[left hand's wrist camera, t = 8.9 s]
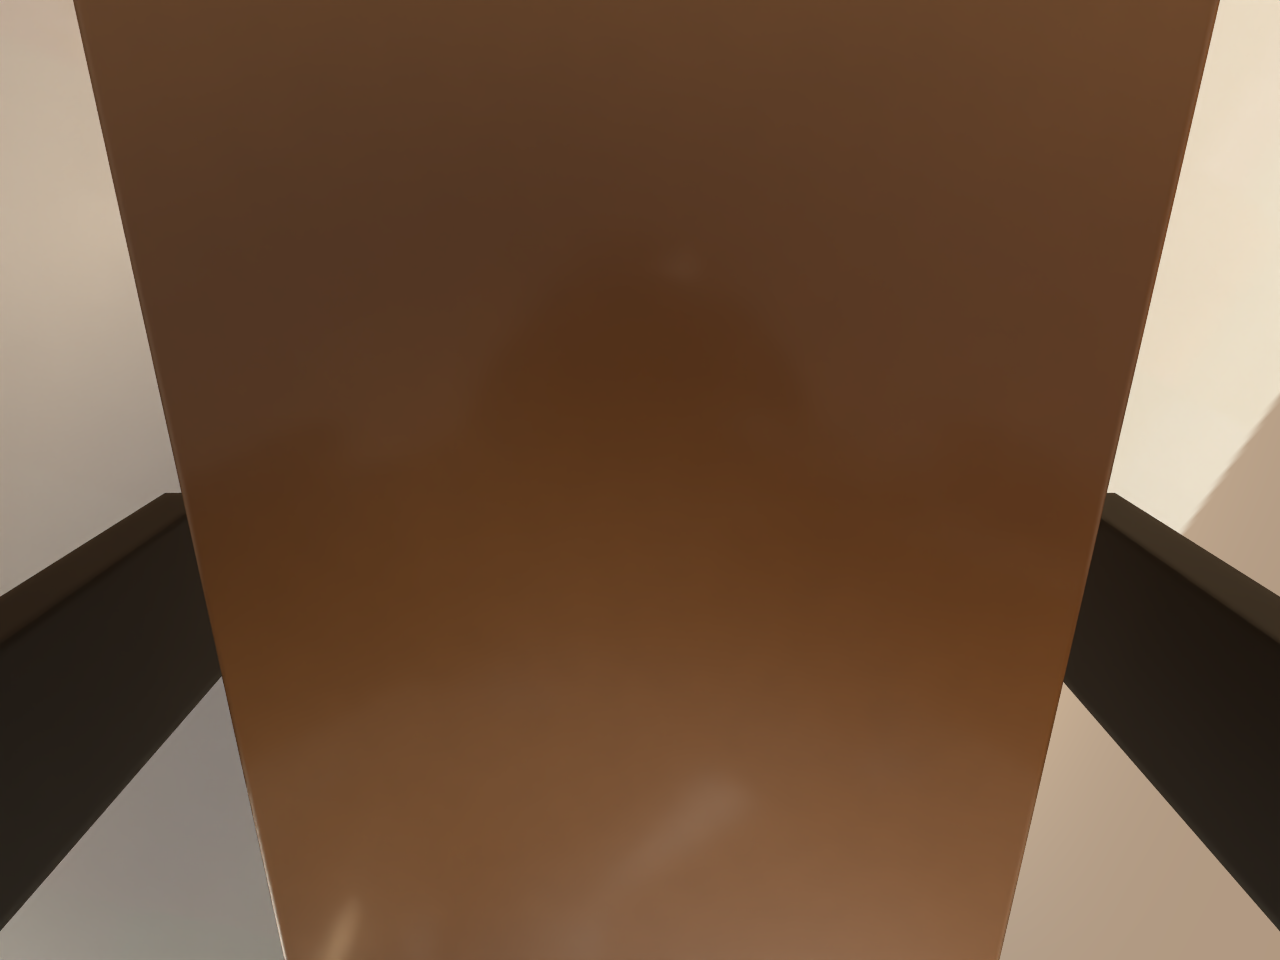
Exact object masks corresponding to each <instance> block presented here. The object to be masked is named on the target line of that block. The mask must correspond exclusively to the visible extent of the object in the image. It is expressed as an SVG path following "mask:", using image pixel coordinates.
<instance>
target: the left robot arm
mask: <svg viewBox="0 0 1280 960" xmlns="http://www.w3.org/2000/svg"><path fill="white" fill-rule="evenodd" d="M221 676H222V674H221V669H220V665H219V660H218V655H217V651H216V646H215V642H214V637H213V633H212V628H211V624H210V619H209V615H208V610H207V606H206V601H205V596H204V592H203V587H202V583H201V578H200V574H199V569H198V565H197V560H196V556H195V551H194V547H193V542H192V537H191V533H190V528H189V524H188V519H187V515H186V510H185V506H184V501H183V497H182V493H164V494H163V495H161V496H160V497H158V498H156V499H155V500H153V501H152V502H150V503H148V504H147V505H145V506H144V507H142V508H140V509H139V510H137V511H136V512H134V513H133V514H131V515H129V516H128V517H126V518H125V519H123V520H121V521H120V522H118V523H117V524H115V525H113V526H112V527H110V528H109V529H107V530H106V531H104V532H102V533H101V534H99V535H98V536H96V537H94V538H93V539H91V540H90V541H88V542H86V543H85V544H83V545H82V546H80V547H79V548H77V549H75V550H74V551H72V552H71V553H69V554H67V555H66V556H64V557H63V558H61V559H59V560H58V561H56V562H55V563H53V564H51V565H50V566H48V567H47V568H45V569H44V570H42V571H40V572H39V573H37V574H36V575H34V576H32V577H31V578H29V579H28V580H26V581H24V582H23V583H21V584H20V585H18V586H17V587H15V588H13V589H12V590H10V591H9V592H7V593H5V594H4V595H2V596H1V597H0V931H1V930H2V928H3V927H4V926H5V925H6V924H7V923H8V922H9V920H10V919H11V918H12V917H13V916H14V915H15V913H16V912H17V911H18V910H19V909H20V908H21V907H22V905H23V904H24V903H25V902H26V901H27V900H28V898H29V897H30V896H31V895H32V894H33V893H34V892H35V890H36V889H37V888H38V887H39V886H40V885H41V883H42V882H43V881H44V880H45V879H46V878H47V877H48V875H49V874H50V873H51V872H52V871H53V870H54V869H55V867H56V866H57V865H58V864H59V863H60V862H61V860H62V859H63V858H64V857H65V856H66V855H67V854H68V852H69V851H70V850H71V849H72V848H73V847H74V845H75V844H76V843H77V842H78V841H79V840H80V839H81V837H82V836H83V835H84V834H85V833H86V832H87V831H88V829H89V828H90V827H91V826H92V825H93V824H94V822H95V821H96V820H97V819H98V818H99V817H100V816H101V814H102V813H103V812H104V811H105V810H106V809H107V807H108V806H109V805H110V804H111V803H112V802H113V801H114V799H115V798H116V797H117V796H118V795H119V794H120V792H121V791H122V790H123V789H124V788H125V787H126V786H127V784H128V783H129V782H130V781H131V780H132V779H133V778H134V776H135V775H136V774H137V773H138V772H139V771H140V769H141V768H142V767H143V766H144V765H145V764H146V763H147V761H148V760H149V759H150V758H151V757H152V756H153V754H154V753H155V752H156V751H157V750H158V749H159V748H160V746H161V745H162V744H163V743H164V742H165V741H166V740H167V738H168V737H169V736H170V735H171V734H172V733H173V731H174V730H175V729H176V728H177V727H178V726H179V725H180V723H181V722H182V721H183V720H184V719H185V718H186V716H187V715H188V714H189V713H190V712H191V711H192V710H193V708H194V707H195V706H196V705H197V704H198V703H199V701H200V700H201V699H202V698H203V697H204V696H205V695H206V693H207V692H208V691H209V690H210V689H211V688H212V687H213V685H214V684H215V683H216V682H217V681H218V680H219V678H220V677H221ZM1063 682H1064V683H1065V684H1066V685H1067V687H1068V688H1069V689H1070V690H1071V691H1072V692H1073V693H1074V695H1075V696H1076V697H1077V698H1078V699H1079V700H1080V701H1081V703H1082V704H1083V705H1084V706H1085V707H1086V708H1087V710H1088V711H1089V712H1090V713H1091V714H1092V715H1093V716H1094V718H1095V719H1096V720H1097V721H1098V722H1099V723H1100V725H1101V726H1102V727H1103V728H1104V729H1105V730H1106V731H1107V733H1108V734H1109V735H1110V736H1111V737H1112V738H1113V740H1114V741H1115V742H1116V743H1117V744H1118V745H1119V746H1120V748H1121V749H1122V750H1123V751H1124V752H1125V753H1126V754H1127V756H1128V757H1129V758H1130V759H1131V760H1132V761H1133V763H1134V764H1135V765H1136V766H1137V767H1138V768H1139V769H1140V771H1141V772H1142V773H1143V774H1144V775H1145V776H1146V778H1147V779H1148V780H1149V781H1150V782H1151V783H1152V784H1153V786H1154V787H1155V788H1156V789H1157V790H1158V791H1159V792H1160V794H1161V795H1162V796H1163V797H1164V798H1165V799H1166V801H1167V802H1168V803H1169V804H1170V805H1171V806H1172V807H1173V809H1174V810H1175V811H1176V812H1177V813H1178V814H1179V816H1180V817H1181V818H1182V819H1183V820H1184V821H1185V822H1186V824H1187V825H1188V826H1189V827H1190V828H1191V829H1192V831H1193V832H1194V833H1195V834H1196V835H1197V836H1198V837H1199V839H1200V840H1201V841H1202V842H1203V843H1204V844H1205V845H1206V847H1207V848H1208V849H1209V850H1210V851H1211V852H1212V854H1213V855H1214V856H1215V857H1216V858H1217V859H1218V860H1219V862H1220V863H1221V864H1222V865H1223V866H1224V867H1225V868H1226V870H1227V871H1228V872H1229V873H1230V874H1231V875H1232V877H1233V878H1234V879H1235V880H1236V881H1237V882H1238V884H1239V885H1240V886H1241V887H1242V888H1243V889H1244V890H1245V892H1246V893H1247V894H1248V895H1249V896H1250V897H1251V898H1252V900H1253V901H1254V902H1255V903H1256V904H1257V905H1258V907H1259V908H1260V909H1261V910H1262V911H1263V912H1264V913H1265V915H1266V916H1267V917H1268V918H1269V919H1270V920H1271V922H1272V923H1273V924H1274V925H1275V926H1276V927H1277V928H1278V930H1279V931H1280V597H1279V596H1278V595H1276V594H1275V593H1273V592H1271V591H1270V590H1268V589H1267V588H1265V587H1263V586H1262V585H1260V584H1259V583H1257V582H1256V581H1254V580H1252V579H1251V578H1249V577H1248V576H1246V575H1244V574H1243V573H1241V572H1240V571H1238V570H1236V569H1235V568H1233V567H1232V566H1230V565H1228V564H1227V563H1225V562H1224V561H1222V560H1221V559H1219V558H1217V557H1216V556H1214V555H1213V554H1211V553H1209V552H1208V551H1206V550H1205V549H1203V548H1201V547H1200V546H1198V545H1197V544H1195V543H1194V542H1192V541H1190V540H1189V539H1187V538H1186V537H1184V536H1182V535H1181V534H1179V533H1178V532H1176V531H1174V530H1173V529H1171V528H1170V527H1168V526H1167V525H1165V524H1163V523H1162V522H1160V521H1159V520H1157V519H1155V518H1154V517H1152V516H1151V515H1149V514H1147V513H1146V512H1144V511H1143V510H1141V509H1140V508H1138V507H1136V506H1135V505H1133V504H1132V503H1130V502H1128V501H1127V500H1125V499H1124V498H1122V497H1120V496H1119V495H1117V494H1116V493H1106V498H1105V502H1104V506H1103V511H1102V515H1101V519H1100V524H1099V528H1098V533H1097V537H1096V541H1095V546H1094V550H1093V554H1092V559H1091V563H1090V567H1089V572H1088V576H1087V580H1086V585H1085V589H1084V593H1083V598H1082V602H1081V607H1080V611H1079V615H1078V620H1077V624H1076V628H1075V633H1074V637H1073V641H1072V646H1071V650H1070V654H1069V659H1068V663H1067V667H1066V672H1065V676H1064V680H1063Z"/></svg>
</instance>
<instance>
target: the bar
mask: <svg viewBox="0 0 1280 960" xmlns="http://www.w3.org/2000/svg"><path fill="white" fill-rule="evenodd" d="M73 2H74V6H75V11H76V15H77V20H78V24H79V29H80V34H81V38H82V43H83V47H84V52H85V56H86V61H87V65H88V70H89V74H90V79H91V83H92V88H93V93H94V97H95V102H96V106H97V111H98V115H99V120H100V124H101V129H102V133H103V138H104V142H105V147H106V152H107V156H108V161H109V165H110V170H111V174H112V179H113V183H114V188H115V192H116V197H117V201H118V206H119V211H120V215H121V220H122V224H123V229H124V233H125V238H126V242H127V247H128V251H129V256H130V261H131V265H132V270H133V274H134V279H135V283H136V288H137V292H138V297H139V301H140V306H141V310H142V315H143V320H144V324H145V329H146V333H147V338H148V342H149V347H150V351H151V356H152V360H153V365H154V369H155V374H156V379H157V383H158V388H159V392H160V397H161V401H162V406H163V410H164V415H165V419H166V424H167V428H168V433H169V438H170V442H171V447H172V451H173V456H174V460H175V465H176V469H177V474H178V478H179V483H180V487H181V492H182V497H183V501H184V506H185V510H186V515H187V519H188V524H189V528H190V533H191V537H192V542H193V547H194V551H195V556H196V560H197V565H198V569H199V574H200V578H201V583H202V587H203V592H204V596H205V601H206V606H207V610H208V615H209V619H210V624H211V628H212V633H213V637H214V642H215V646H216V651H217V655H218V660H219V665H220V669H221V674H222V678H223V683H224V687H225V692H226V696H227V701H228V705H229V710H230V714H231V719H232V724H233V728H234V733H235V737H236V742H237V746H238V751H239V755H240V760H241V764H242V769H243V773H244V778H245V783H246V787H247V792H248V796H249V801H250V805H251V810H252V814H253V819H254V823H255V828H256V832H257V837H258V842H259V846H260V851H261V855H262V860H263V864H264V869H265V873H266V878H267V882H268V887H269V892H270V896H271V901H272V905H273V910H274V914H275V919H276V923H277V928H278V932H279V937H280V941H281V946H282V951H283V955H284V960H999V959H1000V955H1001V950H1002V946H1003V942H1004V937H1005V933H1006V928H1007V924H1008V920H1009V915H1010V911H1011V906H1012V902H1013V898H1014V894H1015V889H1016V885H1017V881H1018V876H1019V872H1020V867H1021V863H1022V859H1023V854H1024V850H1025V846H1026V841H1027V837H1028V832H1029V828H1030V824H1031V820H1032V815H1033V811H1034V806H1035V802H1036V798H1037V793H1038V789H1039V785H1040V781H1041V776H1042V772H1043V767H1044V763H1045V759H1046V754H1047V750H1048V746H1049V741H1050V737H1051V733H1052V728H1053V724H1054V720H1055V715H1056V711H1057V707H1058V702H1059V698H1060V694H1061V689H1062V685H1063V680H1064V676H1065V672H1066V667H1067V663H1068V659H1069V654H1070V650H1071V646H1072V641H1073V637H1074V633H1075V628H1076V624H1077V620H1078V615H1079V611H1080V607H1081V602H1082V598H1083V593H1084V589H1085V585H1086V580H1087V576H1088V572H1089V567H1090V563H1091V559H1092V554H1093V550H1094V546H1095V541H1096V537H1097V533H1098V528H1099V524H1100V519H1101V515H1102V511H1103V506H1104V502H1105V498H1106V493H1107V489H1108V485H1109V480H1110V476H1111V472H1112V467H1113V463H1114V459H1115V454H1116V450H1117V446H1118V441H1119V437H1120V432H1121V428H1122V424H1123V419H1124V415H1125V411H1126V406H1127V402H1128V398H1129V393H1130V389H1131V385H1132V380H1133V376H1134V372H1135V367H1136V363H1137V359H1138V354H1139V350H1140V345H1141V341H1142V337H1143V332H1144V328H1145V324H1146V319H1147V315H1148V311H1149V306H1150V302H1151V298H1152V293H1153V289H1154V285H1155V280H1156V276H1157V272H1158V267H1159V263H1160V258H1161V254H1162V250H1163V245H1164V241H1165V237H1166V232H1167V228H1168V224H1169V219H1170V215H1171V211H1172V206H1173V202H1174V198H1175V193H1176V189H1177V184H1178V180H1179V176H1180V171H1181V167H1182V163H1183V158H1184V154H1185V150H1186V145H1187V141H1188V137H1189V132H1190V128H1191V124H1192V119H1193V115H1194V111H1195V106H1196V102H1197V97H1198V93H1199V89H1200V84H1201V80H1202V76H1203V71H1204V67H1205V63H1206V58H1207V54H1208V50H1209V45H1210V41H1211V37H1212V32H1213V28H1214V24H1215V19H1216V15H1217V10H1218V6H1219V2H1220V0H73Z"/></svg>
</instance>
